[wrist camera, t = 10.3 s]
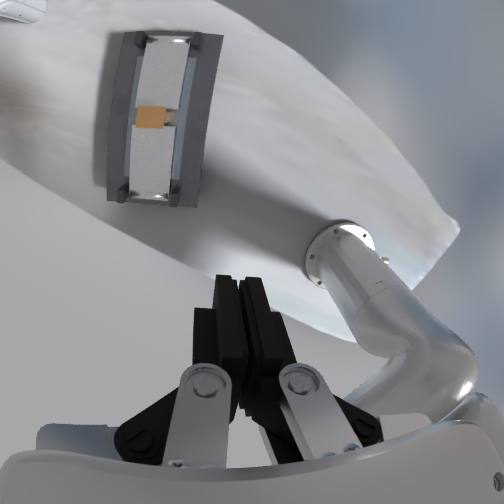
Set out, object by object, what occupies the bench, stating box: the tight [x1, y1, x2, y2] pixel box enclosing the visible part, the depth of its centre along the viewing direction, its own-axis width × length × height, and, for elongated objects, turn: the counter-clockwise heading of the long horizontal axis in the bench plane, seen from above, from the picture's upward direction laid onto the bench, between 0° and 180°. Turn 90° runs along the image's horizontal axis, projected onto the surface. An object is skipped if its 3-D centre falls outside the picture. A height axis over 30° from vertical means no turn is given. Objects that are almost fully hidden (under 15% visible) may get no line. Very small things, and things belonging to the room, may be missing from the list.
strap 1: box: [135, 36, 191, 109], centre depth 25 cm, size 9×5×1 cm, turn 170°
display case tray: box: [107, 31, 224, 208], centre depth 28 cm, size 12×22×8 cm, turn 170°
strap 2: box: [129, 124, 176, 201], centre depth 30 cm, size 9×5×1 cm, turn 170°
